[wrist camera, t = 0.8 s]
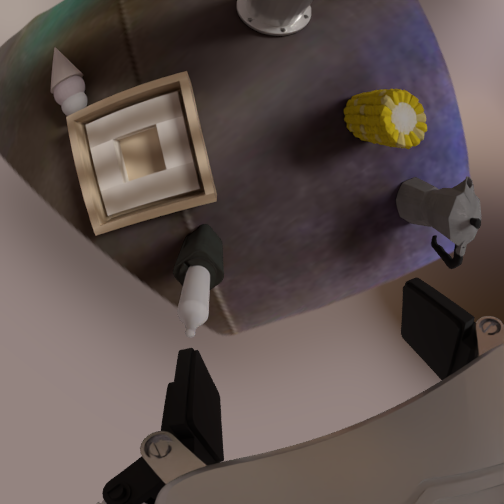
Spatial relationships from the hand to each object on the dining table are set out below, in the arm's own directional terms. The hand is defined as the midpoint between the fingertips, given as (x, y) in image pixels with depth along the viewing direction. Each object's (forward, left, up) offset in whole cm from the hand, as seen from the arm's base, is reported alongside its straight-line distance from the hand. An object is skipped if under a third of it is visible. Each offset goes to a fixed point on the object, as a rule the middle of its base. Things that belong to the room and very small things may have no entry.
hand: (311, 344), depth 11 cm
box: (-12, -13, -35) cm, 39 cm away
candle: (+5, -8, -35) cm, 36 cm away
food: (-10, +23, -35) cm, 43 cm away
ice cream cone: (-29, -24, -35) cm, 51 cm away
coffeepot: (+7, +32, -35) cm, 48 cm away
